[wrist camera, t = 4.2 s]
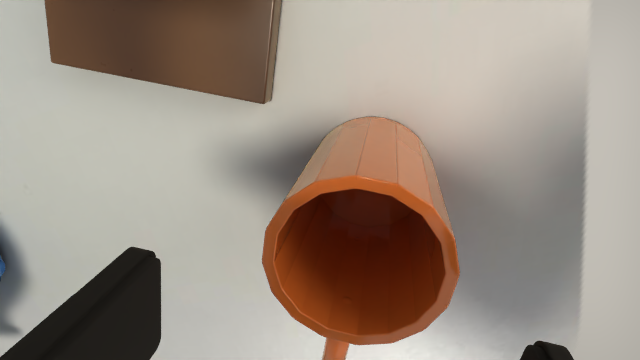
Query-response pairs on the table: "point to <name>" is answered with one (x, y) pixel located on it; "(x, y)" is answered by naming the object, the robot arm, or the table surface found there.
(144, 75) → the mug stand
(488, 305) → the table surface
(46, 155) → the table surface
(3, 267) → the snack cup
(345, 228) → the mug
